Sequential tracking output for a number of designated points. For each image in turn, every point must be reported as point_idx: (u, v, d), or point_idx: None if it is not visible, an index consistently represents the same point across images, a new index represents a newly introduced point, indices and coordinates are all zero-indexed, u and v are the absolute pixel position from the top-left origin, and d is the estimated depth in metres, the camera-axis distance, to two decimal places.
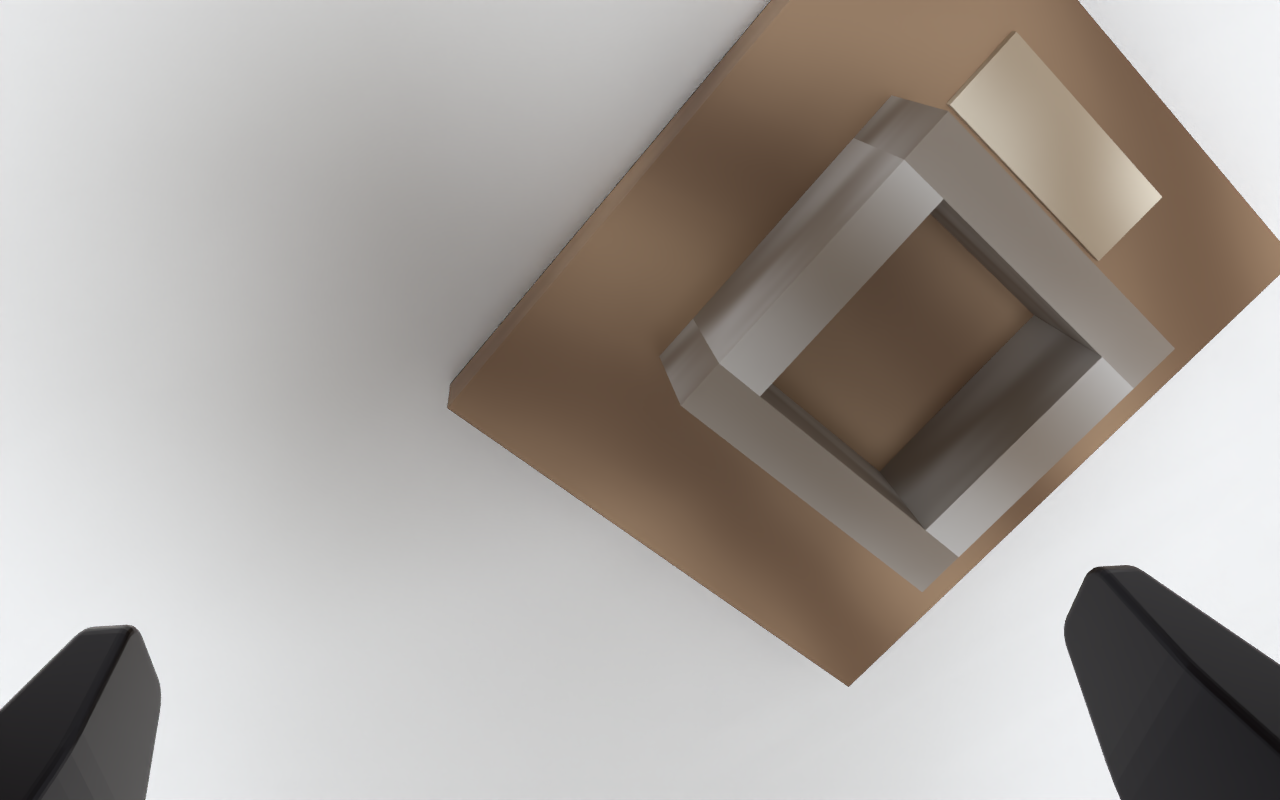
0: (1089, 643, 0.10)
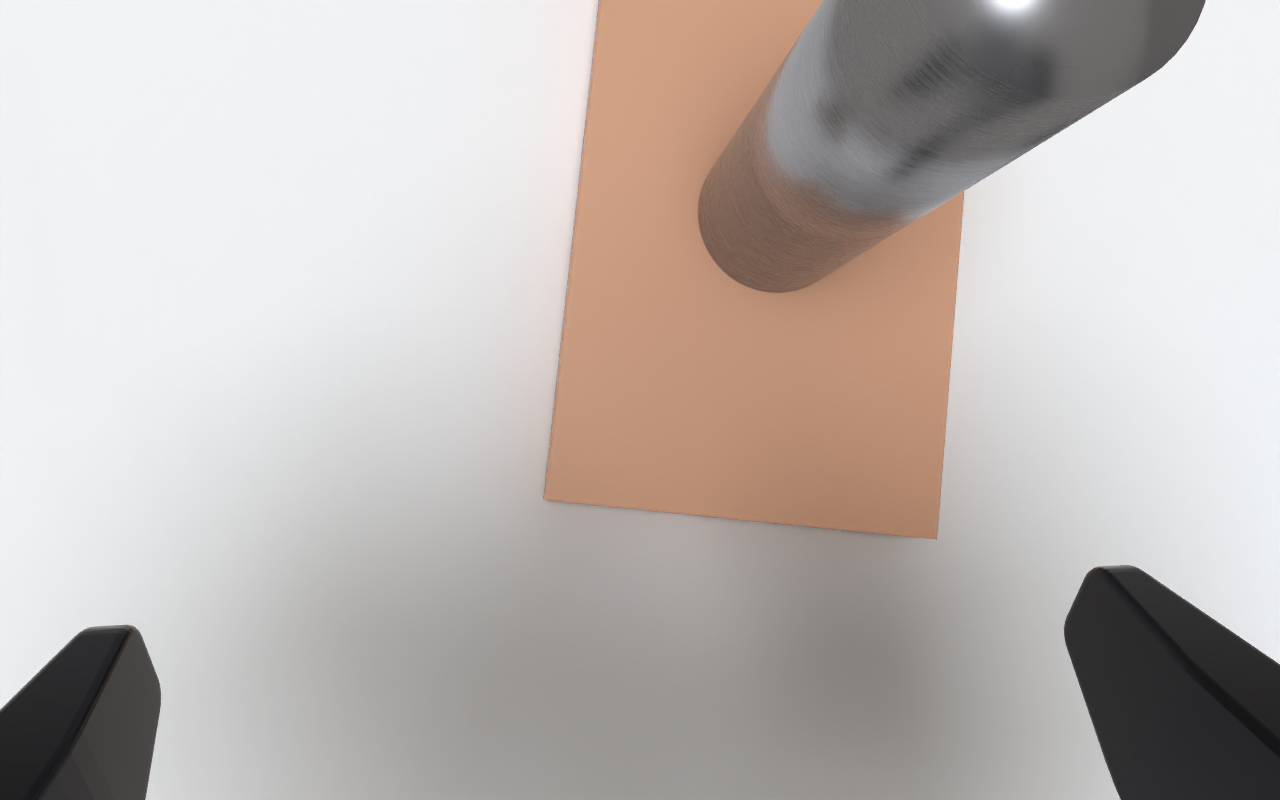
0: (1089, 643, 0.10)
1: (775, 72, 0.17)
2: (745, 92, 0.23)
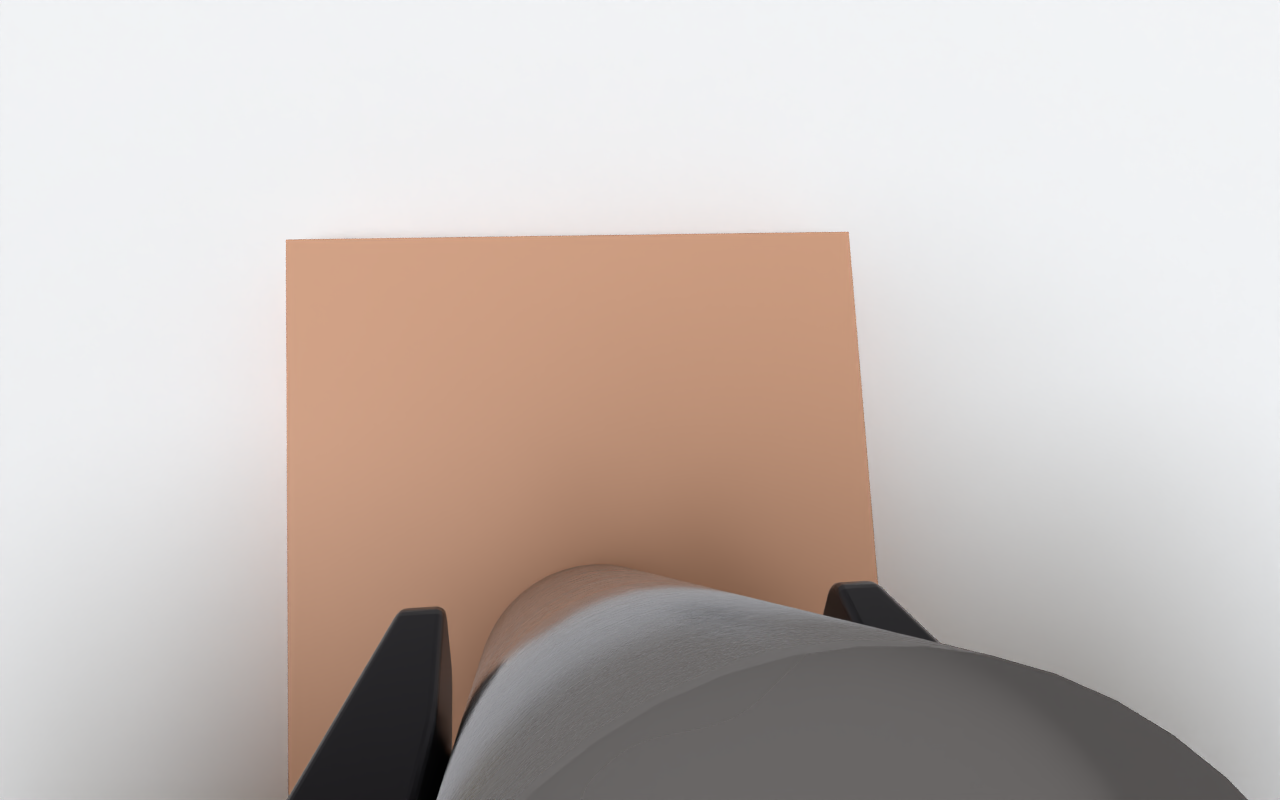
0: None
1: None
2: (526, 503, 0.15)
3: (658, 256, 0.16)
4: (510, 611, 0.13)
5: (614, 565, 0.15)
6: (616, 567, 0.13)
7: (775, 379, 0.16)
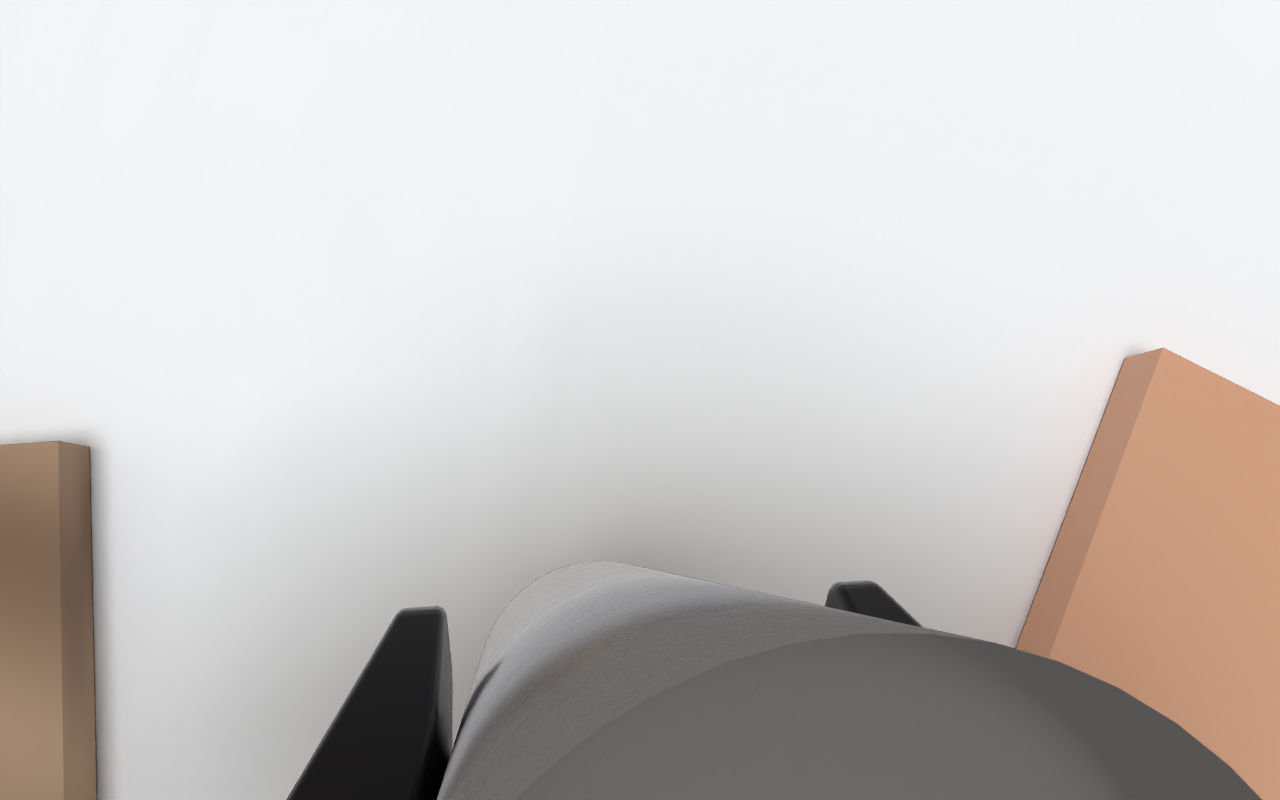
0: None
1: (466, 705, 0.09)
2: (1236, 574, 0.23)
3: None
4: (511, 607, 0.13)
5: None
6: (617, 563, 0.13)
7: None
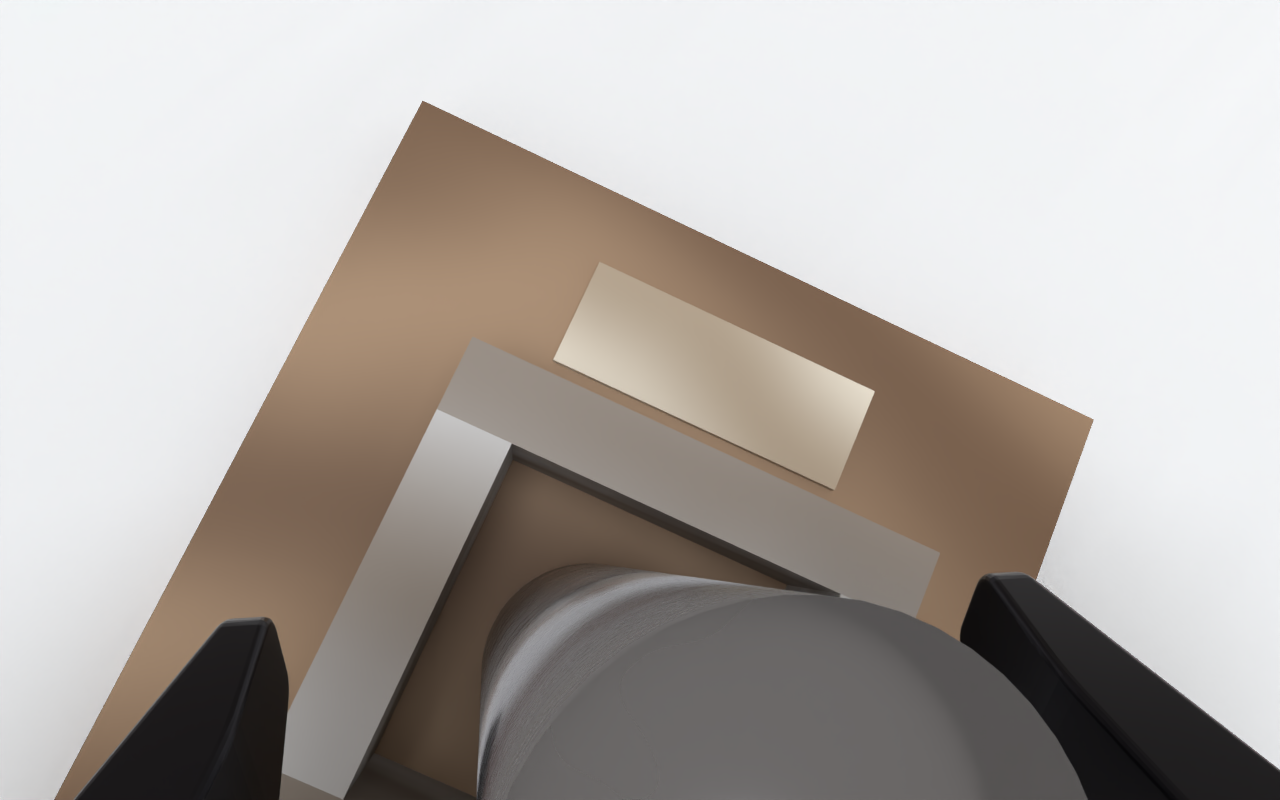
0: (980, 651, 0.10)
1: (490, 676, 0.11)
2: None
3: None
4: (514, 603, 0.15)
5: None
6: (605, 565, 0.16)
7: None
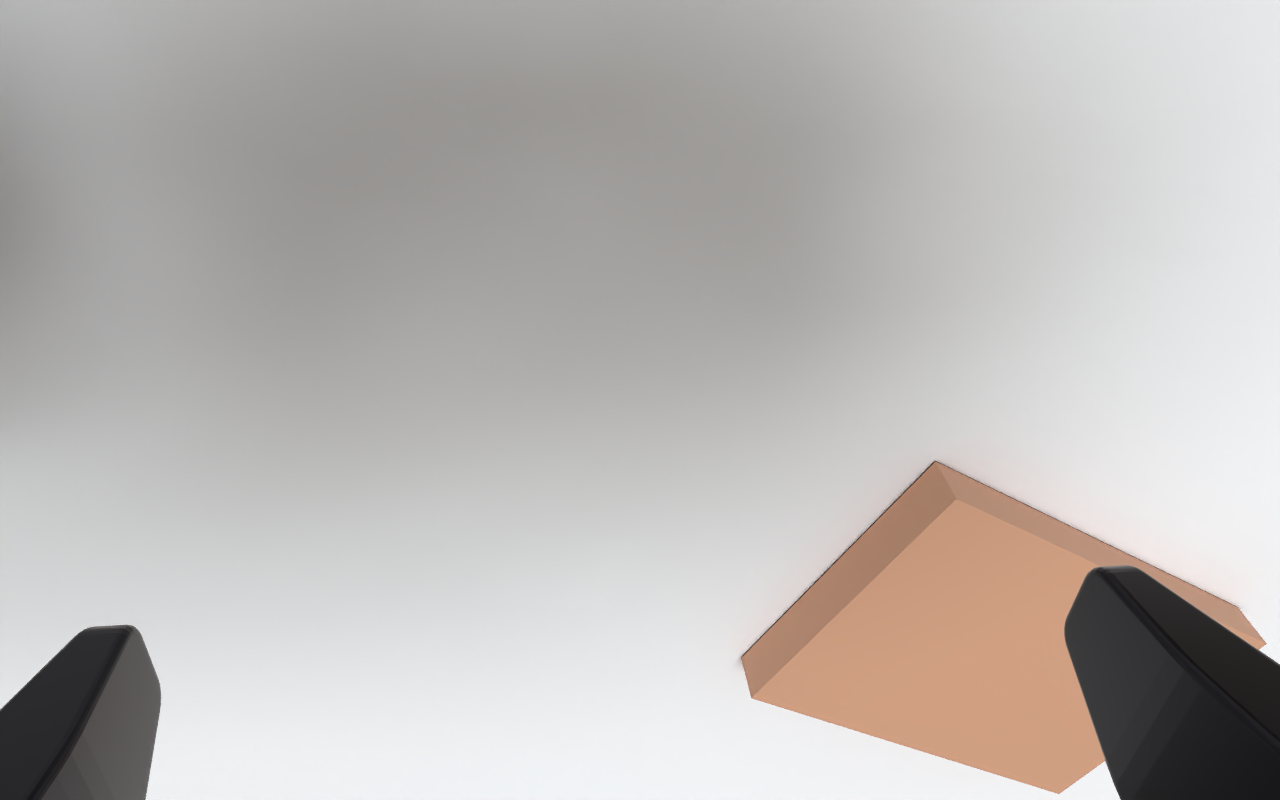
0: (1089, 643, 0.10)
1: None
2: None
3: None
4: None
5: None
6: None
7: (1042, 757, 0.34)
